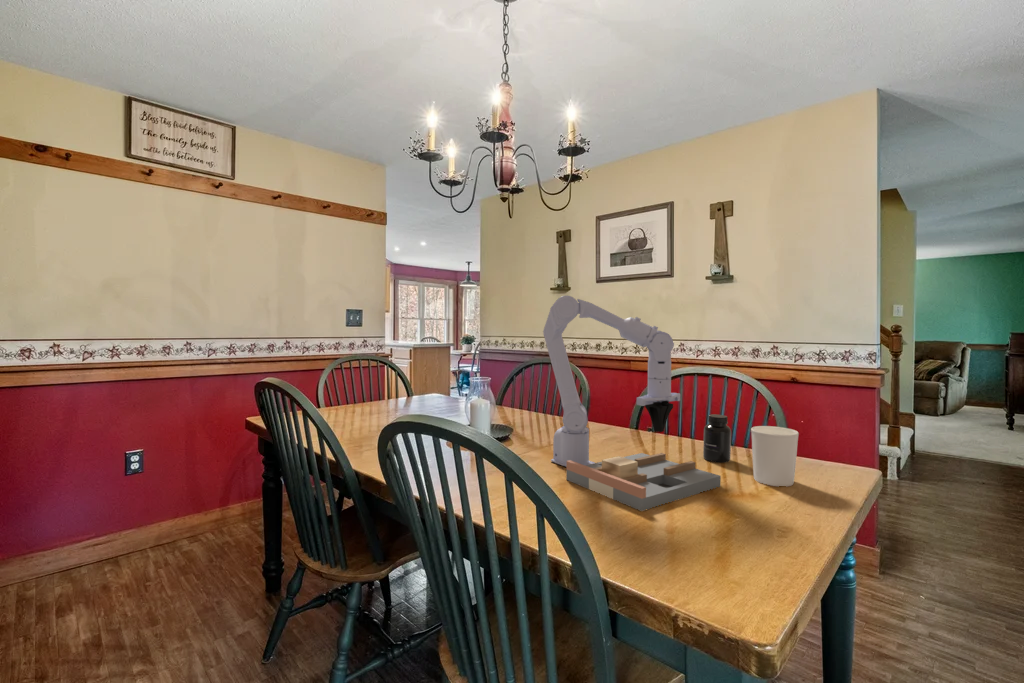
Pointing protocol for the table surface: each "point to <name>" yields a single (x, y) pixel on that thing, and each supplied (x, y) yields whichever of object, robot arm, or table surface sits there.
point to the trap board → (645, 481)
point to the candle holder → (774, 455)
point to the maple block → (620, 467)
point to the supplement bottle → (717, 439)
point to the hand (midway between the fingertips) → (658, 431)
